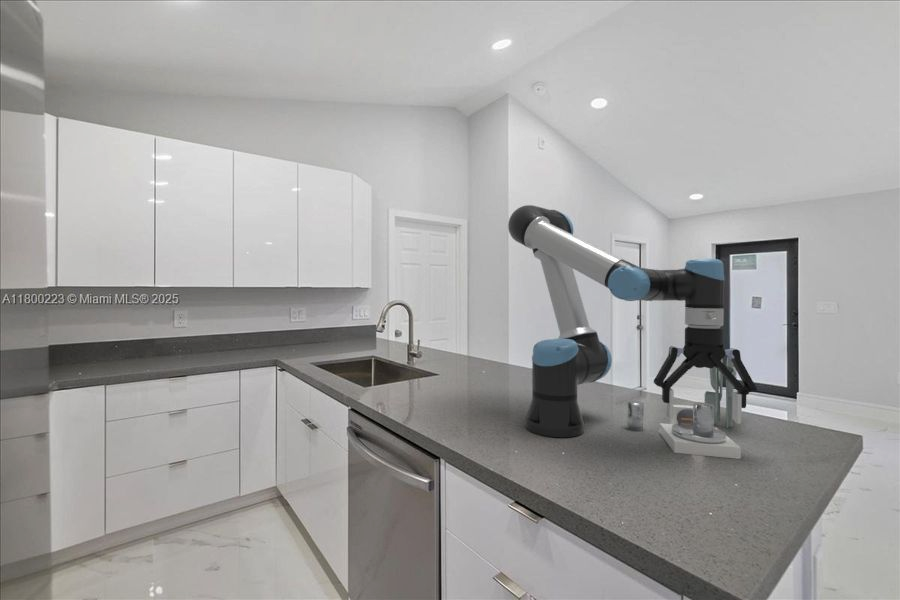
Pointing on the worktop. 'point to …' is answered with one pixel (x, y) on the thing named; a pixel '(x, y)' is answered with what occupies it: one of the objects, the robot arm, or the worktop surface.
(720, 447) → the scale
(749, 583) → the worktop surface
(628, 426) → the cylinder
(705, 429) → the grey metal knob
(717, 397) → the bracket
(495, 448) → the worktop surface
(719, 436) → the pan
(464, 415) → the worktop surface
